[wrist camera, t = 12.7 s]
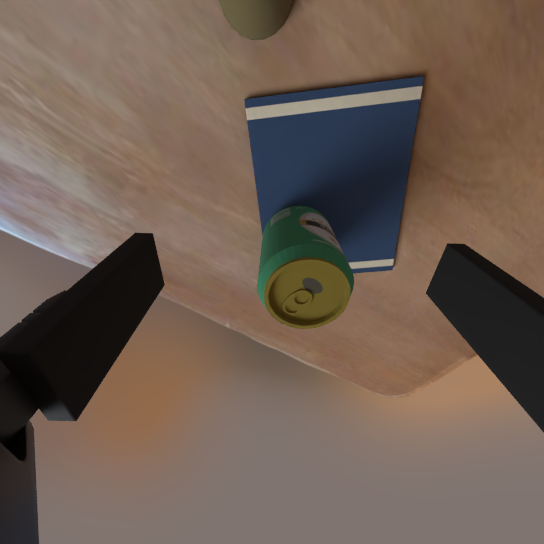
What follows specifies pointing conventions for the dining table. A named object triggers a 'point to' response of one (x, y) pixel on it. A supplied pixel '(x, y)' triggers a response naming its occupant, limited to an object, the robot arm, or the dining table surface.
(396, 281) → the dining table surface
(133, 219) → the dining table surface
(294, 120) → the towel
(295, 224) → the beverage can
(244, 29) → the olive game pawn
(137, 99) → the dining table surface
